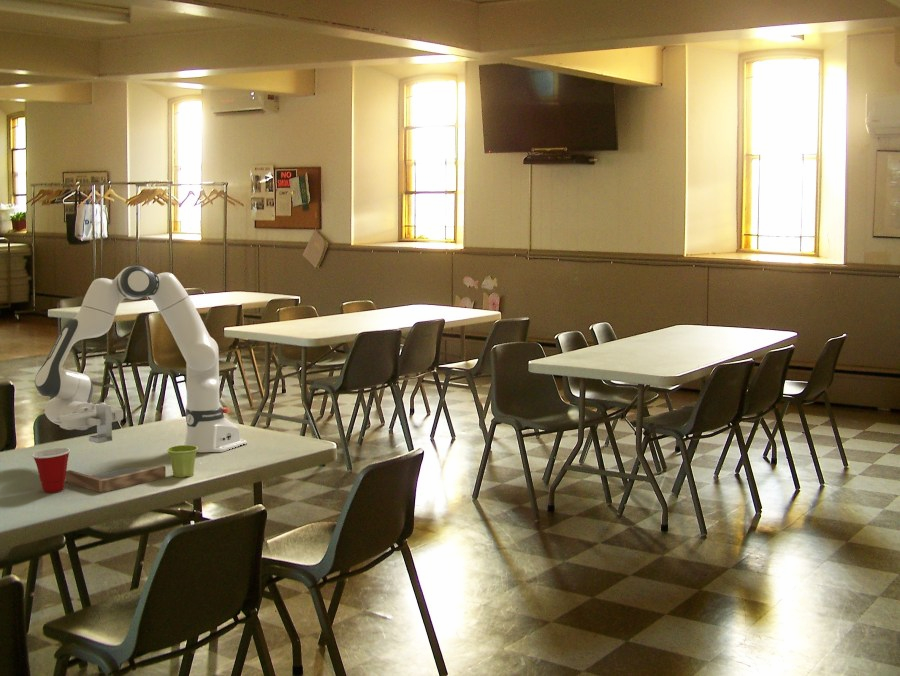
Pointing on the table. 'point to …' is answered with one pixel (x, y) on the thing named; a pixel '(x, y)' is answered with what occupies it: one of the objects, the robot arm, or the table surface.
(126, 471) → the felt mat
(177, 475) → the plant pot
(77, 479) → the corner walls
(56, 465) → the plastic cup
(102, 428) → the steel bookend
